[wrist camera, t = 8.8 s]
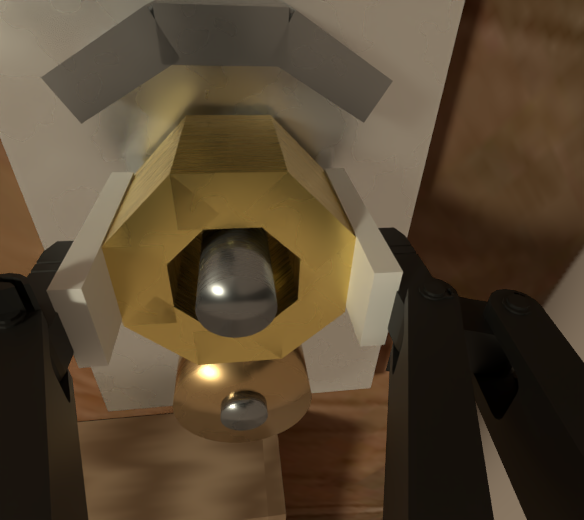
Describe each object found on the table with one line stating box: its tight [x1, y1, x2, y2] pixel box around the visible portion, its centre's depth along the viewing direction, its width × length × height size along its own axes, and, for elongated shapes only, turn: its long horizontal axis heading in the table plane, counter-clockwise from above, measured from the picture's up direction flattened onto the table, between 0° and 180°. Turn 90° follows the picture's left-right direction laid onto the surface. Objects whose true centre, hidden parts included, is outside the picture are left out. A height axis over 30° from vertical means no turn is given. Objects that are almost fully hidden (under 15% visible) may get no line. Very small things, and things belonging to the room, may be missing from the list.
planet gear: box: [102, 115, 356, 365], centre depth 14 cm, size 7×7×5 cm
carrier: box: [0, 0, 465, 443], centre depth 16 cm, size 16×22×8 cm
